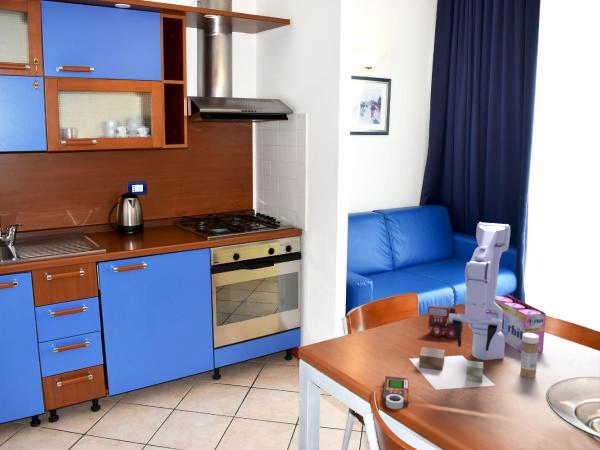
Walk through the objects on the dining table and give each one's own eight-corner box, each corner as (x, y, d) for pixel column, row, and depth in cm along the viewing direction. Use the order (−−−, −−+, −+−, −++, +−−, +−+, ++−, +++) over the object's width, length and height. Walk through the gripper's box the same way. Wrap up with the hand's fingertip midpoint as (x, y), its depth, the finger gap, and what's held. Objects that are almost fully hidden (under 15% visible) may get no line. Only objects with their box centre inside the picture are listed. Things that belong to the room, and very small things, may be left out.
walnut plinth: (444, 361, 176) (444, 349, 175) (442, 370, 170) (442, 358, 169) (421, 358, 178) (422, 347, 178) (419, 367, 172) (419, 355, 171)
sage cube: (482, 376, 165) (483, 362, 165) (482, 383, 161) (482, 368, 160) (466, 374, 167) (467, 360, 166) (465, 380, 163) (466, 366, 162)
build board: (461, 357, 181) (461, 355, 181) (495, 387, 160) (495, 385, 160) (408, 361, 179) (408, 358, 178) (435, 392, 157) (435, 389, 157)
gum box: (484, 329, 208) (486, 294, 206) (503, 328, 210) (505, 293, 207) (523, 354, 185) (525, 314, 183) (544, 352, 187) (547, 313, 184)
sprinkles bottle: (532, 374, 169) (535, 332, 167) (538, 381, 164) (541, 337, 162) (516, 374, 169) (519, 332, 167) (523, 381, 164) (526, 337, 162)
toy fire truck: (462, 339, 197) (463, 311, 196) (426, 336, 201) (427, 308, 199) (462, 333, 204) (463, 305, 202) (427, 330, 207) (428, 303, 205)
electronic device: (382, 400, 148) (385, 374, 162) (382, 410, 148) (385, 383, 163) (408, 403, 146) (409, 376, 161) (408, 413, 147) (408, 385, 161)
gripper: (448, 303, 159) (445, 348, 161) (502, 309, 154) (499, 356, 156) (451, 297, 166) (448, 340, 168) (503, 302, 161) (499, 347, 162)
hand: (473, 347), depth 162 cm, fingers open, 7 cm apart
